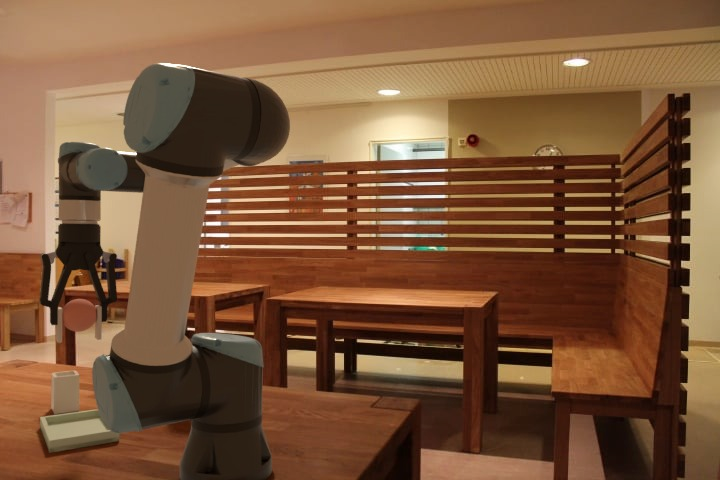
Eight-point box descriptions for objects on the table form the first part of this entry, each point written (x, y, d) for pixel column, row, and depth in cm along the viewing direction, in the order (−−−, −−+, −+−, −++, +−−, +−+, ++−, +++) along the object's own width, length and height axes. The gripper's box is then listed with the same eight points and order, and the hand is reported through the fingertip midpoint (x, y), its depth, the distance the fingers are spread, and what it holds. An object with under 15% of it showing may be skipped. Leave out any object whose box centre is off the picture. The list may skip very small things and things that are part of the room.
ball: (99, 332, 119) (99, 299, 119) (63, 335, 116) (63, 301, 115) (93, 327, 124) (93, 296, 124) (58, 330, 121) (59, 298, 121)
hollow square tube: (79, 410, 135) (79, 374, 135) (54, 414, 133) (54, 377, 133) (75, 405, 140) (75, 370, 140) (51, 408, 137) (51, 372, 137)
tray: (119, 441, 117) (119, 429, 117) (49, 452, 110) (49, 440, 110) (103, 418, 130) (103, 408, 130) (40, 427, 124) (40, 417, 124)
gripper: (127, 223, 128) (126, 333, 128) (22, 221, 117) (21, 341, 118) (135, 223, 122) (134, 338, 122) (25, 221, 111) (24, 348, 112)
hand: (78, 339), depth 120 cm, fingers closed on ball, 6 cm apart
